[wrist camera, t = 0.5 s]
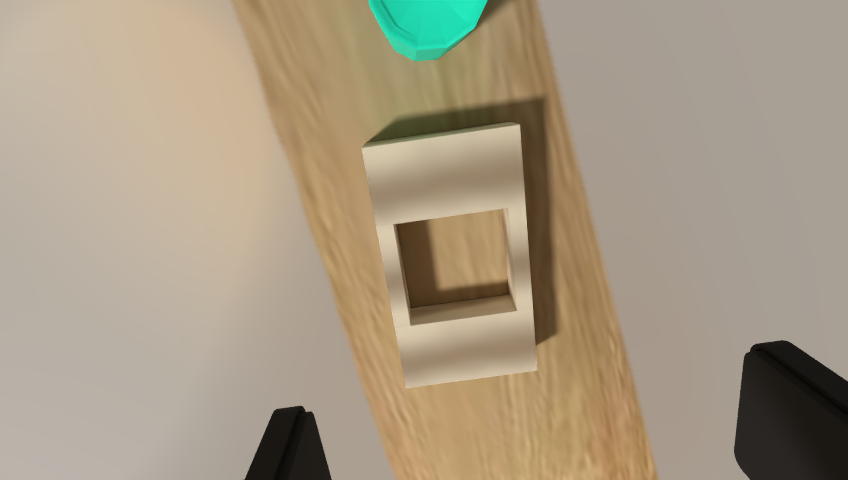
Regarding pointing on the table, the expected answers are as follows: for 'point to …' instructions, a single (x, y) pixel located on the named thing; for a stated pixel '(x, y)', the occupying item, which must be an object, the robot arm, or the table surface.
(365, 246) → the table surface
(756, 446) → the robot arm
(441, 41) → the candle
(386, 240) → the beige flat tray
